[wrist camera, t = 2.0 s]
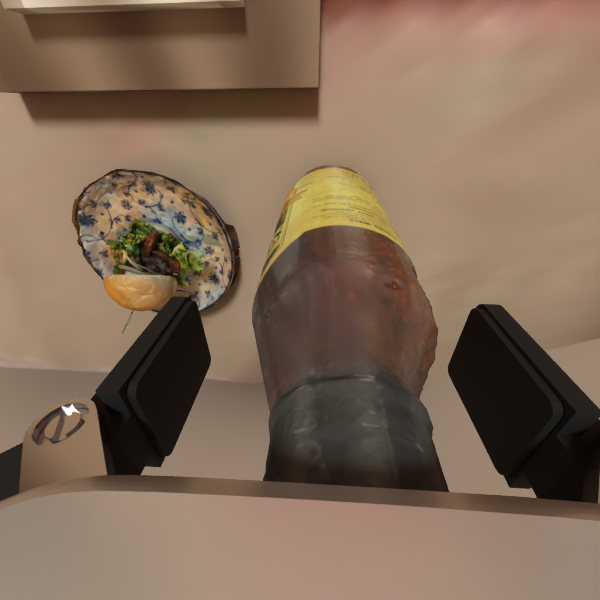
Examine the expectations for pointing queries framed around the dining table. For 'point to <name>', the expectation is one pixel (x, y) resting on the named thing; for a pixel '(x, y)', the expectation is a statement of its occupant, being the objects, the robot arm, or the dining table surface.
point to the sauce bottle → (344, 343)
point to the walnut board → (158, 45)
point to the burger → (154, 241)
